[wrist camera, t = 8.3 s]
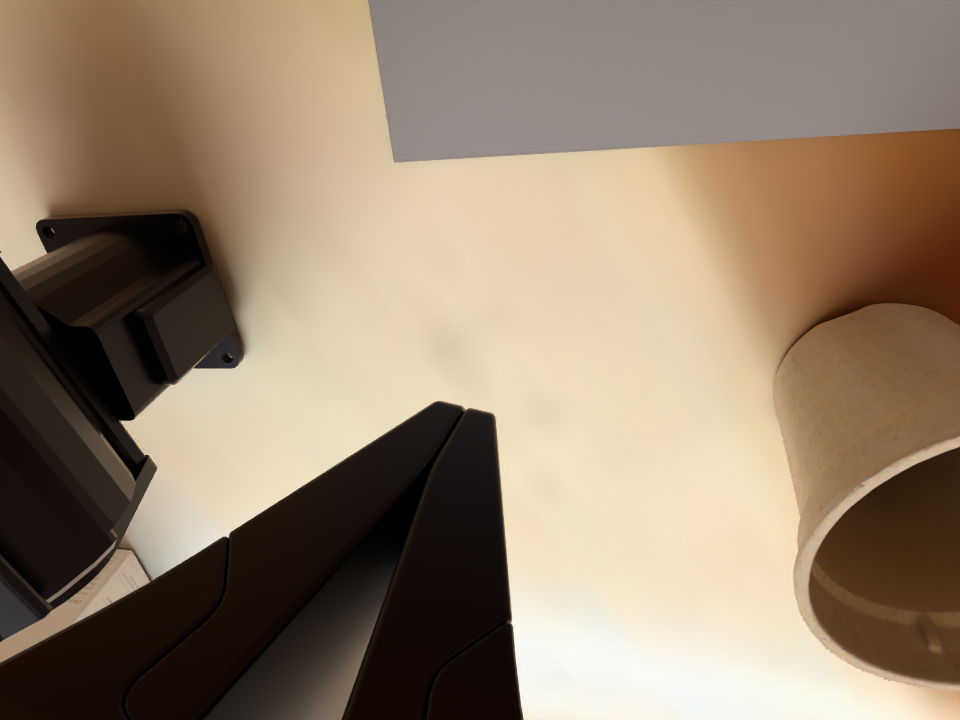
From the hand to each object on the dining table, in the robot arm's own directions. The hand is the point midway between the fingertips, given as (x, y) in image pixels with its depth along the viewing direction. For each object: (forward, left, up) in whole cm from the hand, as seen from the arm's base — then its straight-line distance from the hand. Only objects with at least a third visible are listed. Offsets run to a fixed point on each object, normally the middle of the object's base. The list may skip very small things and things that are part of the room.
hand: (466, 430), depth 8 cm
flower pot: (+12, -8, -13) cm, 19 cm away
